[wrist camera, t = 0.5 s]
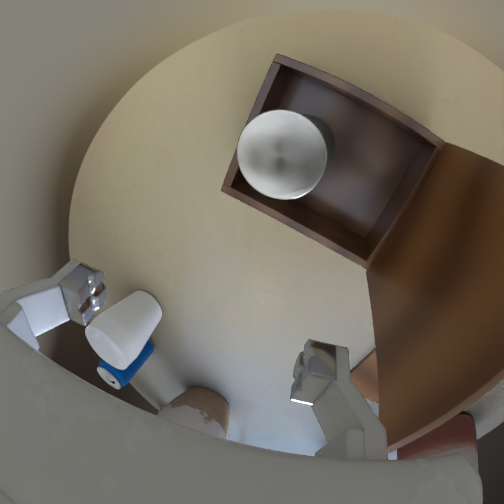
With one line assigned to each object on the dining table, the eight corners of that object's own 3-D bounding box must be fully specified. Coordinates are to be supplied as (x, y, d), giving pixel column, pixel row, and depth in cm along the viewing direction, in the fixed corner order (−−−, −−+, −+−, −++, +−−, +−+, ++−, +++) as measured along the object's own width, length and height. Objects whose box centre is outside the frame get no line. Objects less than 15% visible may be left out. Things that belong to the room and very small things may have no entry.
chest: (242, 177, 30) (220, 191, 26) (290, 65, 23) (276, 53, 18) (366, 245, 29) (368, 271, 24) (429, 138, 22) (447, 143, 17)
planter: (433, 451, 42) (430, 505, 29) (381, 441, 45) (372, 503, 31) (487, 416, 33) (494, 477, 20) (440, 402, 35) (443, 478, 22)
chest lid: (377, 451, 10) (388, 453, 10) (603, 230, 2) (607, 241, 2) (365, 272, 24) (372, 275, 24) (446, 141, 16) (453, 147, 16)
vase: (256, 408, 50) (212, 502, 31) (224, 424, 59) (184, 497, 40) (190, 366, 51) (129, 457, 31) (170, 390, 59) (120, 460, 40)
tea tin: (291, 104, 24) (255, 95, 15) (345, 130, 24) (343, 135, 15) (269, 154, 27) (224, 175, 18) (320, 180, 27) (302, 215, 18)
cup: (170, 332, 47) (133, 378, 37) (132, 315, 50) (93, 355, 40) (166, 293, 43) (119, 341, 33) (124, 277, 45) (77, 316, 35)
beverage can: (133, 343, 55) (100, 379, 44) (128, 322, 51) (91, 360, 41) (157, 355, 53) (125, 395, 43) (153, 334, 50) (117, 377, 40)
